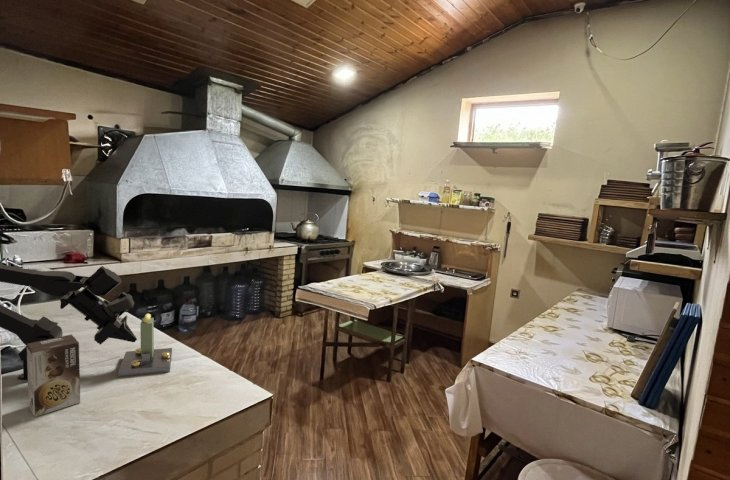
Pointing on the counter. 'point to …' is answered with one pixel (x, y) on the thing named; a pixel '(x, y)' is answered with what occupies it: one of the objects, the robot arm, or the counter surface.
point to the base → (145, 362)
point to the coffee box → (53, 374)
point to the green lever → (147, 335)
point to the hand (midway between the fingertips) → (135, 340)
